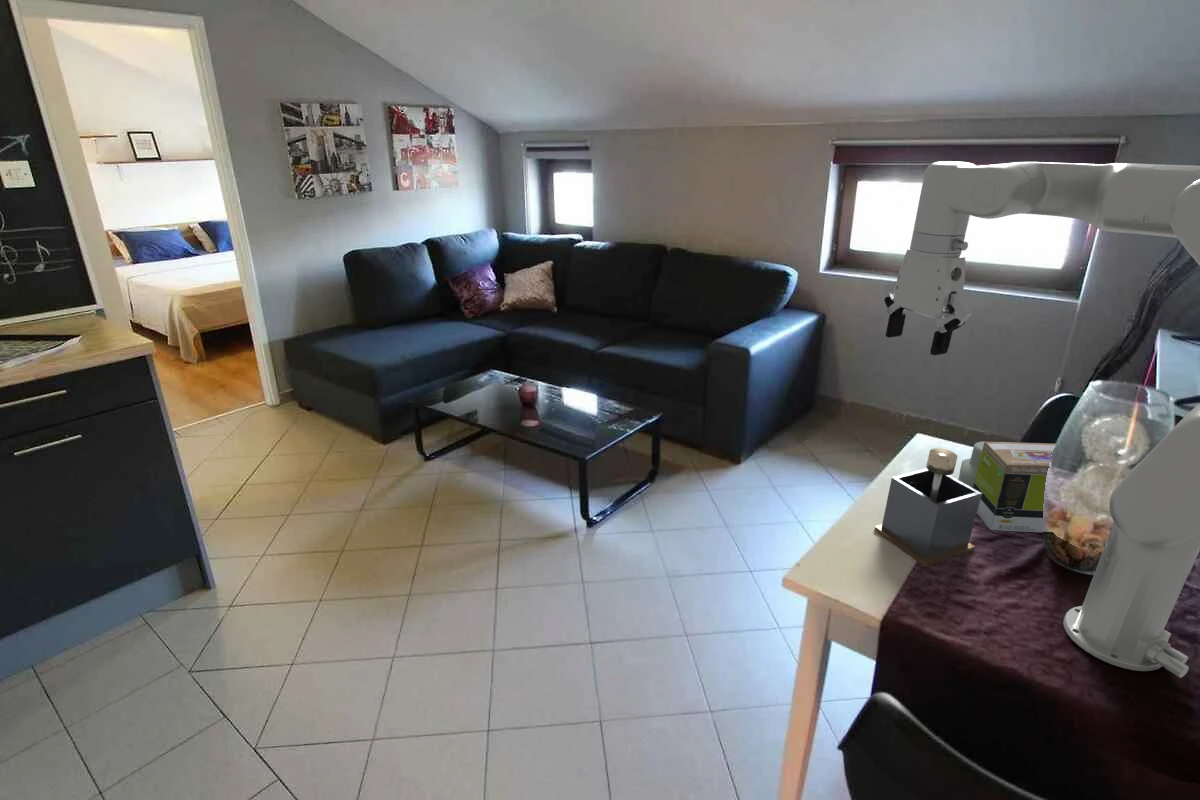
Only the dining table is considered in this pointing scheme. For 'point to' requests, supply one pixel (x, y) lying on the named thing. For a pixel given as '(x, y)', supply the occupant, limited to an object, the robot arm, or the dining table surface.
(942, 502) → the press housing
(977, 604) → the dining table surface
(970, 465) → the air freshener
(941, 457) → the plunger
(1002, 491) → the tea box
